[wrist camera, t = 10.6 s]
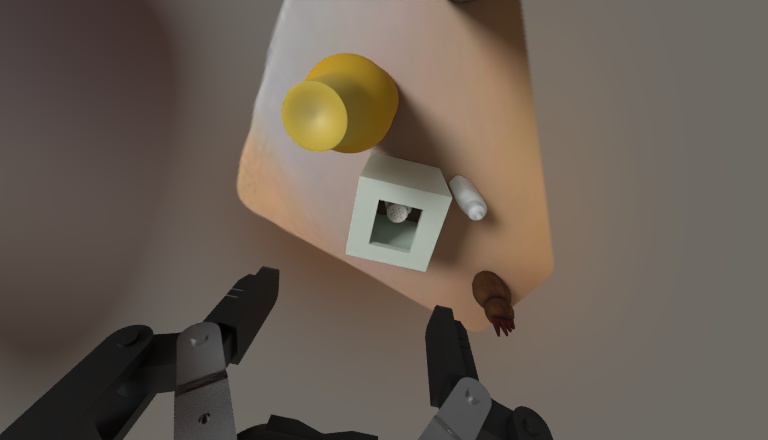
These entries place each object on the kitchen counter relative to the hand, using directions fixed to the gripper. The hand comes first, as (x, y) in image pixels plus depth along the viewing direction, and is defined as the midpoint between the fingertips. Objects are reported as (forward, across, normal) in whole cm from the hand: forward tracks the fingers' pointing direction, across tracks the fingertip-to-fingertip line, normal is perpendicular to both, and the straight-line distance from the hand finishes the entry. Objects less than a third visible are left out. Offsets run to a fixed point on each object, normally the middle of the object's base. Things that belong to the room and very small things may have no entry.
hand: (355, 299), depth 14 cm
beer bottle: (+36, +5, -7) cm, 37 cm away
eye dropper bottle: (+36, -14, +4) cm, 39 cm away
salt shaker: (+36, -3, +7) cm, 37 cm away
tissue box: (+36, -3, +7) cm, 37 cm away
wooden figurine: (+36, -25, +21) cm, 49 cm away
